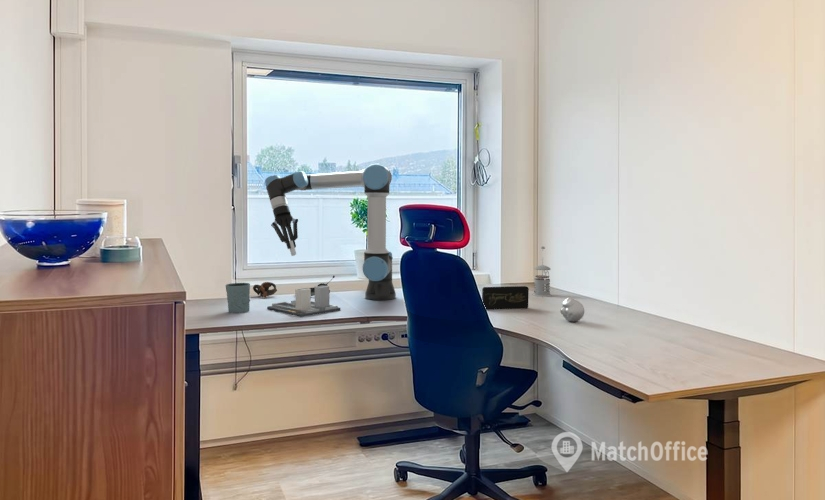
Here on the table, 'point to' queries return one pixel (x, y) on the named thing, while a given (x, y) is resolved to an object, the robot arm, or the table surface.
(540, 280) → the french press
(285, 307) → the grey board
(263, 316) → the table surface
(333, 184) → the robot arm
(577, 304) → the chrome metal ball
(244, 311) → the green tapered cup
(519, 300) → the nameplate
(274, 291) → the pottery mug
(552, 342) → the table surface
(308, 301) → the white fader
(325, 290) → the block
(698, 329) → the table surface
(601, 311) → the table surface
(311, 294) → the headset
